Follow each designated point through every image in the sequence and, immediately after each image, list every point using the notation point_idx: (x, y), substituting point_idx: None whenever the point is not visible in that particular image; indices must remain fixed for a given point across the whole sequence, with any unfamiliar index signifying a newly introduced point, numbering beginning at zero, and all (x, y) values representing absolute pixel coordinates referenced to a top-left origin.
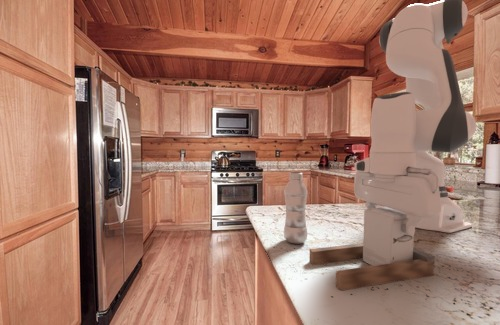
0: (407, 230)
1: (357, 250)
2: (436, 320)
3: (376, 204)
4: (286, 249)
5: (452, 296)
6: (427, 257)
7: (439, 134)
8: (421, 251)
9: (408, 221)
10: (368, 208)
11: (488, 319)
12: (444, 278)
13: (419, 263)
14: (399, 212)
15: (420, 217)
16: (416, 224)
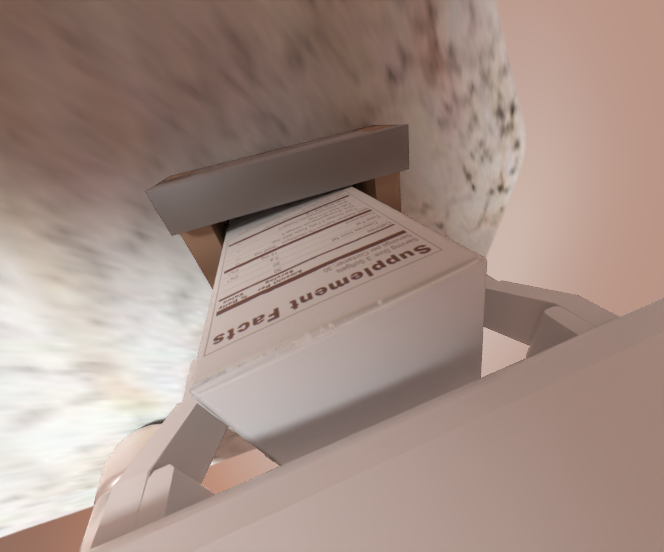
0: None
1: None
2: (486, 255)
3: (176, 476)
4: (223, 438)
5: (459, 168)
6: (407, 167)
7: None
8: (357, 146)
9: (514, 336)
10: (204, 467)
11: (522, 160)
12: (394, 103)
13: (400, 201)
14: (436, 361)
15: (588, 305)
16: (513, 284)
